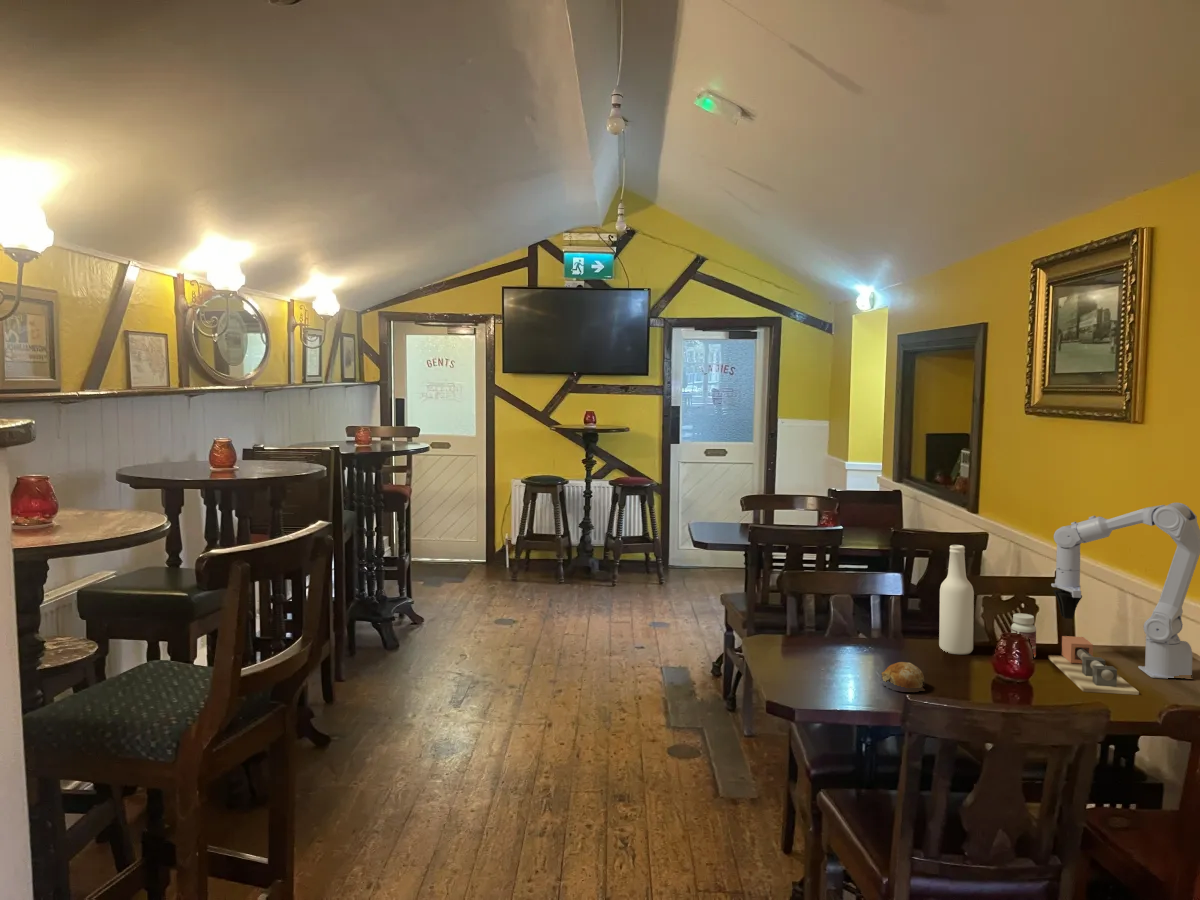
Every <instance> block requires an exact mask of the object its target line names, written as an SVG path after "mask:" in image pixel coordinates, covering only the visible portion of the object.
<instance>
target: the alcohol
mask: <svg viewBox="0 0 1200 900" xmlns="http://www.w3.org/2000/svg"><path fill="white" fill-rule="evenodd" d="M965 549H966V547H965V546H964V545H962V544H961V545H960V544H951V545H950V546H949V558H948V559H949V561H948V569H947V574H946V575H947V576H946V578H945V579H944V580H943V581H942V582H941V584H940V588H939V619H938V620H939V625H938V626H939V629H938V630H939V631H938V632H939V634H938V636H939V637H938V645H939V648H940V650H941V649H942V650H943V651H942V650H941V651H942V652H944V651H945V653H947V652H948V654H952V655H961V656H962V655H964V656H965V655H969V654H971V653H972V652H973V650H974V614H975V613H974V611H975V610H974V608H975V607H974V606H975V605H974V603H975V600H974V599H975V596H974V595H975V592H974V587H973V585H972V583H971V582H970V581H969V580H968V578H967V573H966V572H967V570H966V560H965V559H966V556H965V555H966V554H965V553H966V550H965Z"/></svg>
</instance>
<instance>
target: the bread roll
mask: <svg viewBox="0 0 1200 900" xmlns="http://www.w3.org/2000/svg"><path fill="white" fill-rule="evenodd" d="M880 675H881V680H882V679H883V681H885V682H887V681H889V682H891V683H893V684H894V685H897V686H901V687H905V688H921V687H922V685H924V686H925V684H924V683H926V682H925V677H924V673H923V671H922V670H921V669H920V668H919V667H918V666H917V665H915V664H913V663H912V662H906V661H899V662H896V663H892V664H890V665H888V666H887V668H885V670H884V671H882V672H881V674H880Z"/></svg>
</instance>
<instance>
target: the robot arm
mask: <svg viewBox="0 0 1200 900" xmlns="http://www.w3.org/2000/svg"><path fill="white" fill-rule="evenodd" d="M1197 517H1198V516H1197V515H1196V514H1195V512H1194V511H1193V510H1192V509H1191V508H1190V507H1189V506H1188V505H1186V504H1184V503H1181V502H1172V503H1169V504H1167V505H1166V504H1161V505H1160V504H1159V505H1154V506H1148V507H1147V506H1146V507H1144V508H1141V509H1138V510H1134V511H1131V512H1127V513H1124V514H1121V515H1118V516H1115V517H1112V518H1111V517H1110V518H1105V517H1103V516H1097V515H1092V516H1088V519H1086V520H1082V521H1080V522H1077V521H1073V522H1071V523H1070V525H1069V524H1068V525H1065V526H1064V525H1063V526H1060V527H1059V528H1057V529H1056V530H1055V531H1054V534H1053V540H1054V542H1055V543H1056V558H1055V559H1056V563H1055V579H1054V583H1053V582H1052V583H1051V584H1050V585H1051V587H1052V588H1057V589H1053V590H1052V591H1053V593H1054V594H1053V595H1055V597H1056V598H1055V599H1056V600H1057V602H1058V607H1059V612H1060V615H1061V617H1063V618H1064V619H1067V620H1068V619H1070V620H1071V619H1072V620H1074V616H1075V613H1076V609H1077V607H1078V604H1079V603H1080V601H1081V600H1082V598H1083V595H1082V590H1081V587H1082V586H1081V544H1087V543H1091V542H1094V541H1098V540H1102V539H1105V538H1109V537H1110V535H1111V533H1112V532H1113V531H1114V530H1115V531H1116V530H1119V529H1123V528H1127V527H1130V526H1131V527H1133V526H1135V525H1139V524H1144V525H1148V526H1150V527H1152V526H1153V527H1154V526H1156V527H1158V529H1160V530H1161V531H1163V533H1166V534H1167V535H1168V536H1170V538H1171V539H1172V540H1173V541H1174V543H1175V544H1176V549H1175V551H1174V554H1173V557H1172V560H1171V564H1170V566H1169V570H1168V572H1167V576H1166V579H1165V580H1164V584H1163V588H1162V591H1161V594H1160V597H1159V599H1158V601H1157V602H1158V603H1157V604H1156V606H1155V607H1154V608H1153V610H1152V613H1151V616H1149V618H1147V620H1145V621H1144V623H1143V631H1144V635H1145V657H1144V658H1145V659H1144V666H1143V665H1138V669H1139V670H1141V671H1142V672H1144V673H1145V674H1146V675H1147V676H1149V677H1150V678H1152V679H1153V678H1154V679H1168V678H1174V676H1179V675H1192V676H1193V649H1192V646H1191V645H1190V643H1189V642H1188V641H1185V640H1181V639H1180V637H1179V635H1178V634H1179V633H1180V632H1181V631H1182V629H1183V625H1184V624H1183V621H1182V615H1183V613H1184V611H1183V605H1184V602H1185V599H1186V596H1187V593H1188V591H1189V587H1190V584H1191V582H1192V580H1193V579H1192V578H1193V576H1194V574H1195V573H1194V572H1195V570H1196V567H1197V564H1198V560H1199V557H1200V527H1199V524H1198V523H1199V522H1198V518H1197Z"/></svg>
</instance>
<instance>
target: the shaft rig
mask: <svg viewBox="0 0 1200 900" xmlns="http://www.w3.org/2000/svg"><path fill="white" fill-rule="evenodd" d="M1075 655H1077V656H1078V657H1079V658H1080V659H1081V660H1082V663H1070V662H1069V661H1068V660H1067V659H1066V658H1065V657H1064V656H1063V655H1056V654H1053V655H1052V654H1048V655H1047V658H1048V660H1049V661H1050V662H1051V663H1052V664H1054V665H1055V666H1056V667H1057V668H1058V669H1059V670H1060V671H1061V672H1062V673H1063V674H1064V675H1065V676H1066V677H1067V678H1068V679H1070V681H1072V682H1073V683H1074V685H1076V687H1078V688H1079V690H1081V691H1082V692H1084V693H1101V694H1115V695H1116V694H1118V695H1133V696H1134V695H1136V696H1139V695H1140V691H1139V690H1137V689H1136V688H1135V687H1134V686H1132V685H1131V684H1130V683H1129V682H1127V680H1125V679H1124V678H1123V677H1121V676H1120V675H1119V674H1118V669H1117V668H1115V667H1114V666H1113V665H1112V666H1111V665H1107V664H1106V660H1105V659H1104V658H1103V657H1100V656H1099V657H1098V656H1094V655H1093V656H1092V655H1090V654H1089V653H1088V652H1087V651H1085V650H1084V649H1083V648H1082V647H1075Z"/></svg>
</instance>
